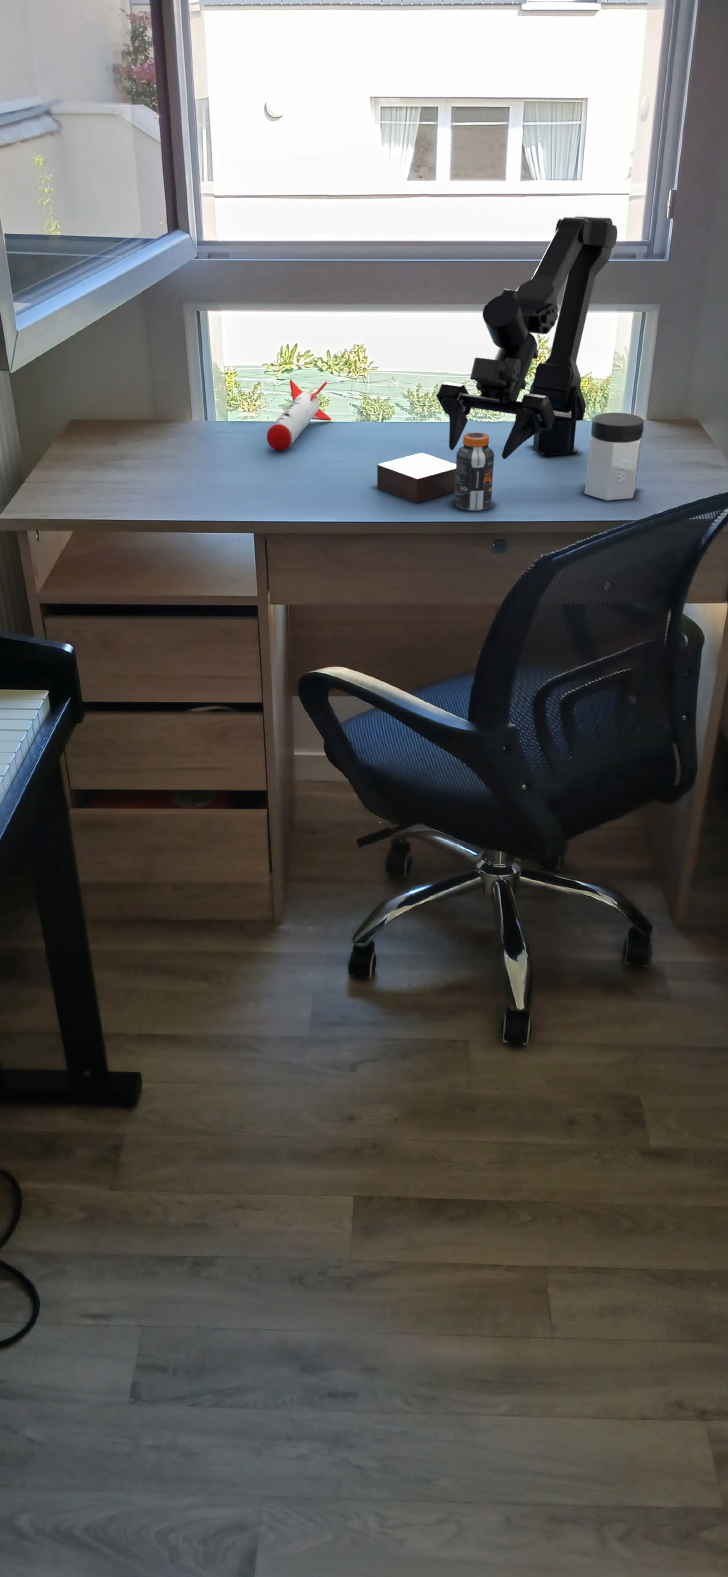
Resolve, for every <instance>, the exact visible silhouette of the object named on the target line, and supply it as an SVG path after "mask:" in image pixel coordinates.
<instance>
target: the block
mask: <svg viewBox="0 0 728 1577" xmlns="http://www.w3.org/2000/svg"><path fill="white" fill-rule="evenodd" d="M376 467H377V468H376V471H377V473H376V476H377V477H376V480H377V482H376V487H377V489H380V490H381V491H384V492H386V493H390V494H393V495H395V496H397V497H399V498H403V499H405V500H408V501H409V502H413V503H415V504H419V503H422V502H426V501H428V500H433V499H437V498H439V497H443V496H446V495H449V494H452V493H453V494H454V493H455V477H456V463H453V462H450V461H448V460H444V459H441V458H438V457H435V456H433V455H430V454H426V453H424V452H420V453H416V454H412V455H408V456H405V457H400V458H396V459H393V460H389V461H385V462H382V463H381V462H380V463H378V464H377V465H376Z"/></svg>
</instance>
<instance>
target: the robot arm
mask: <svg viewBox="0 0 728 1577" xmlns="http://www.w3.org/2000/svg"><path fill="white" fill-rule="evenodd" d="M555 225H556V226H555V232H554V235H553V237H552V239H551V241H550V243H549V244H548V246H547V249H546V250H545V253H544V254H543V256H542V258H541V260H540V262H539V264H538V266H537V268H536V270H535V271H534V273H533V276H532V277H531V279H529V280H527V281H525V282H523V283H522V284H520V285H519V286H518V288H517V289H516V290H515V289H508V288H507V289H506V288H504V289H503V291H502V293H501V294H500V295H498V296H495V297H493V298H492V299H491V300H490V301H488V303H487V304H485V305H484V307H483V309H482V319H483V322H484V324H485V326H486V328H487V330H488V333H489V336H490V338H491V340H492V344H494V345H495V346H496V347H497V348H498V349H497V351H496V354H495V357H494V359H493V358H485V357H474V359H473V363H472V368H471V373H470V377H469V379H470V380H472V381H473V380H474V381H475V382H476V385H475V388H476V390H477V391H478V392H480V394H479V395H477V394H470V393H469V392H468V390H467V387H466V385H465V384H461V383H454V382H449V381H448V382H447V381H445V382H442V383H441V384H440V385H439V387H438V389H437V391H436V394H435V396H436V398H437V400H438V403H439V405H440V407H441V408H442V409H443V412H444V413H445V414H446V415H447V416H448V418H449V432H448V433H449V434H448V448H449V450H450V451H454V449H455V448H456V447H457V445H458V443H459V441H460V438H461V437H462V435H463V433H464V430H465V428H466V426H467V424H468V422H469V419H468V417H467V416H468V415H470V412H471V411H472V409H477V410H485V411H492V412H498V413H504V414H511V415H515V418H514V423H513V425H512V428H511V430H510V432H509V435H508V437H507V440H506V442H505V443H504V447H503V449H502V452H501V457H502V459H503V460H506V459H507V458H508V457H510V456H511V454H513V452H515V451H516V450H517V449H519V447H520V446H522V444H523V443H525V442H526V441H528V440H529V439H530V438H532V437H533V440H532V442H533V443H532V444H531V447H532V448H533V449H534V450H535V451H537V452H538V453H539V454H541V455H542V456H543V457H554V456H555V457H556V456H566V455H576V454H578V450H577V449H576V448H575V439H576V431H577V430H576V428H577V422H580V421H584V416H585V413H586V408H587V404H586V401H585V400H586V399H585V397H584V395H583V392H582V389H581V384H582V377H581V374H580V371H579V367H578V363H577V360H578V354H579V351H580V347H581V342H582V337H583V333H584V329H585V323H586V320H587V315H588V311H589V307H590V302H591V297H592V293H593V289H594V284H595V280H596V276H597V275H598V274H599V273H600V271H601V270H602V269H603V268H604V267H605V266H606V265H607V263H608V262H609V260H610V257H611V254H612V250H613V249H614V247H615V246H616V243H617V239H618V227H617V226H616V225H615V224H613V220H612V218H610V217H602V216H601V217H599V216H587V215H586V216H585V215H584V216H583V215H576V216H574V217H573V216H572V217H570V216H564V217H562V218H559V219H558V220H557V222H556V224H555ZM564 283H565V285H564ZM563 286H564V290H563V295H562V298H561V304H560V307H558V301H557V298H558V296H559V293H560V291H561V289H562V287H563ZM554 326H555V331H554V335H553V338H552V344H551V349H550V353H549V356H548V357H547V358H546V359H545V361H543V362H539V363H537V364H538V365H537V366H536V367H535V373H534V378H533V380H532V383H531V384H530V388H529V393H525V394H524V395H523V396H522V399H521V401H518V398H519V395H520V393H521V391H522V390H525V389H526V386H527V381H526V377H527V375H528V372H529V370H530V367H531V364H532V362H533V359H534V360H537V359H538V357H539V350H538V342H537V340H536V337H535V336H534V335H533V334H538V335H548V334H549V333H550V332H551V330H552V328H553V327H554Z"/></svg>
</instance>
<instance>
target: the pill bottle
mask: <svg viewBox="0 0 728 1577" xmlns="http://www.w3.org/2000/svg"><path fill="white" fill-rule="evenodd" d="M462 438H463V439H462V444H463V446H461V447H460V448H458V449H457V452H456V456H455V458H456V460H455V464H456V477H455V492H454V505H455V506H456V507H457V508H458V509H461V510H464V511H484V510H486V509H489V508H490V507H491V506H492V498H493V497H492V496H493V478H494V465H495V464H494V461H495V453H494V451H493V449H492V448H490V447H489V444H490V436H489V434H487V433H484V432H479V431H476V432H474V431H473V432H466V433H464V434H463V437H462Z"/></svg>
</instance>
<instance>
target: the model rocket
mask: <svg viewBox="0 0 728 1577" xmlns="http://www.w3.org/2000/svg"><path fill="white" fill-rule="evenodd" d="M327 384H328V382H327V381H325V382H324V383H323V384H322V385H321V386H320V387H319V388H318V389H317V390H316V392H315V393H313V392H312V391H302V390H301V389H300V388H299V387H298V385H297V384H296V383H295V382H294V381H293V380H292V379H290V380H289V385H290V392H291V399H292V402H290V404H289V405H288V406H287V407H286V409H285V410H284V411H283V412H282V414H280V415H279V417H278V418H277V419H276V420H275V421H274V423H272V425H271V426H270V427H269V428H268V430H267V432H266V441H267V443H268V446H269V447H271V449H273V450H275V451H278V452H283V451H285V450H288V449H289V448H290V447H291V446H292V444H293V443H294V442H295V441H296V439H297V438H298V437H299V436H300V434H301V433H302V432H303V431H304V429H305V428H306V427H307V425H309V423H310V422H311V420H314V421H328V422H331V421H332V418H331V417H330V416H329V415H328V414H326V413H325V412H324V411H323V410H321V409H320V401H319V398H318V397H317V396H318V395H319V394H320V393H321V391H322V390H324V388H325V387H326V385H327Z"/></svg>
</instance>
